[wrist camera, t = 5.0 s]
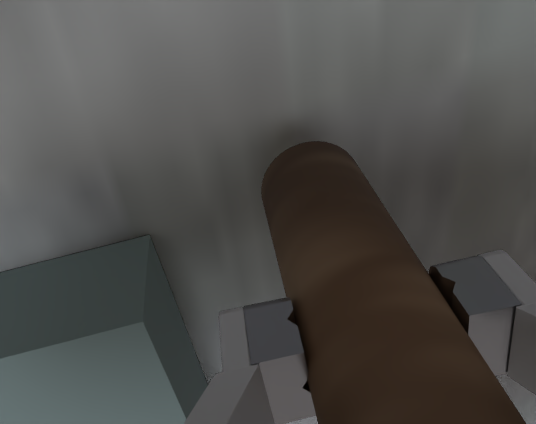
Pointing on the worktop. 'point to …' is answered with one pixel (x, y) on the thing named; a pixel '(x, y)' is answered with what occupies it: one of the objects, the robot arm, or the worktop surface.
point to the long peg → (369, 303)
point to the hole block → (95, 341)
